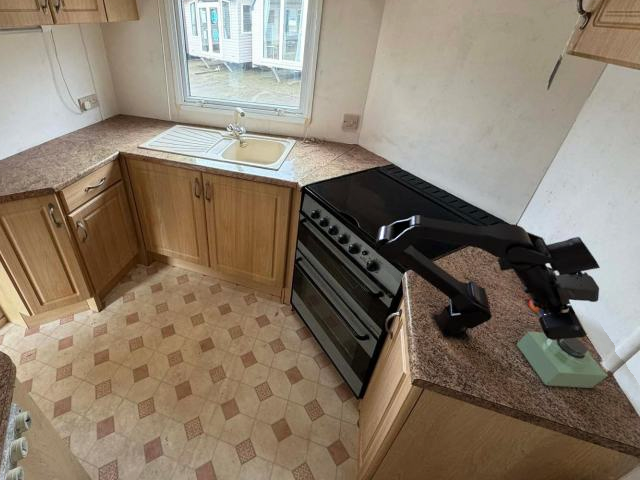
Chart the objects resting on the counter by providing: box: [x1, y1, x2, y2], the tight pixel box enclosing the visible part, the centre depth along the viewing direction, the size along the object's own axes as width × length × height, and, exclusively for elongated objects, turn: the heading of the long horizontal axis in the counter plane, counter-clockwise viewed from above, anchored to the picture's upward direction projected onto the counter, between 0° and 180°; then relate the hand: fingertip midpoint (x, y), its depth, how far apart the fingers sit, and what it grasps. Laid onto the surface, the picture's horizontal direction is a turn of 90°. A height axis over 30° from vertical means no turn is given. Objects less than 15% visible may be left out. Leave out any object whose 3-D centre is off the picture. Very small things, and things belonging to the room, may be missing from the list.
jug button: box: [558, 338, 588, 358], centre depth 72 cm, size 4×4×2 cm
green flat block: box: [515, 331, 609, 389], centre depth 74 cm, size 11×10×8 cm
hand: (566, 326), depth 70 cm, fingers closed
